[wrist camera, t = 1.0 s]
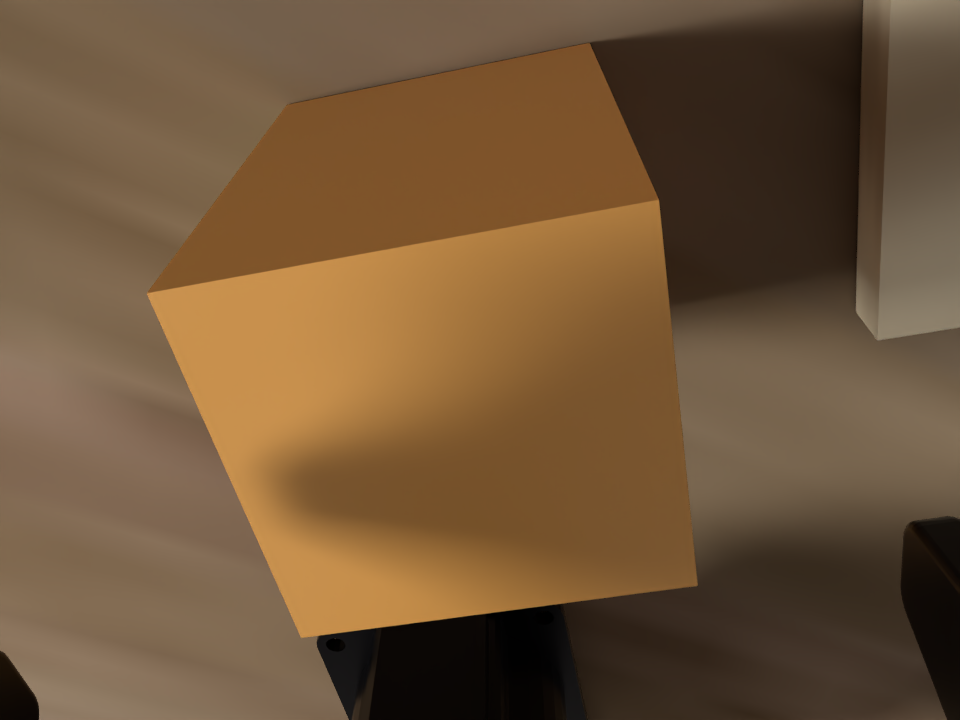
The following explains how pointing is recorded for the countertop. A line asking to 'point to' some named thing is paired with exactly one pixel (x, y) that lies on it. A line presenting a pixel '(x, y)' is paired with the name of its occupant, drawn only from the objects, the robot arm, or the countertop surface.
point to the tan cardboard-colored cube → (442, 349)
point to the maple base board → (909, 168)
